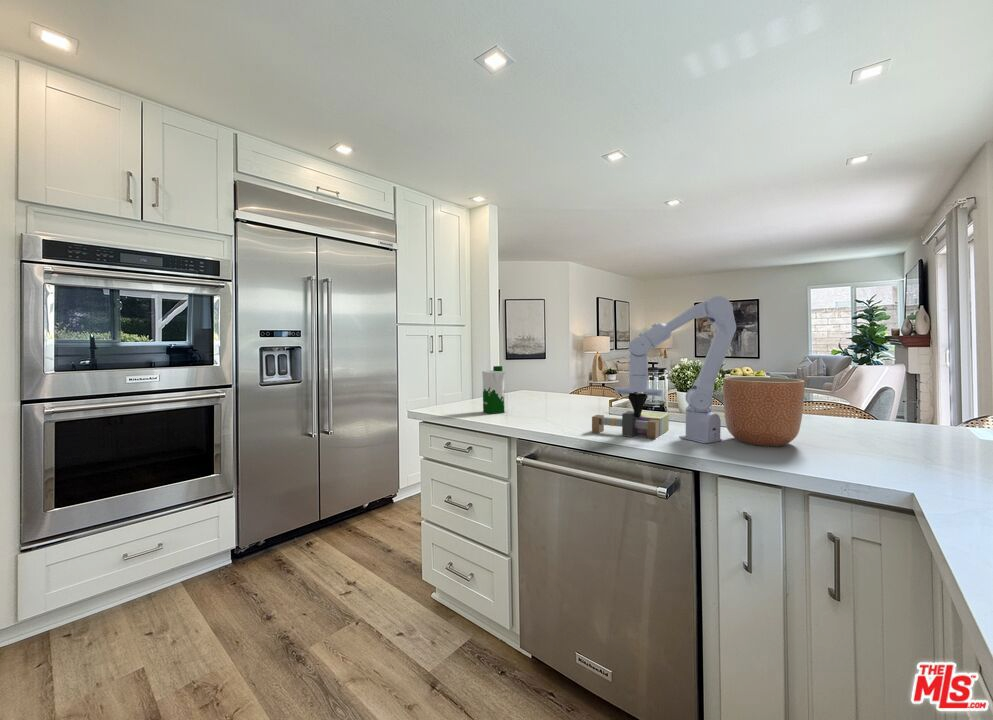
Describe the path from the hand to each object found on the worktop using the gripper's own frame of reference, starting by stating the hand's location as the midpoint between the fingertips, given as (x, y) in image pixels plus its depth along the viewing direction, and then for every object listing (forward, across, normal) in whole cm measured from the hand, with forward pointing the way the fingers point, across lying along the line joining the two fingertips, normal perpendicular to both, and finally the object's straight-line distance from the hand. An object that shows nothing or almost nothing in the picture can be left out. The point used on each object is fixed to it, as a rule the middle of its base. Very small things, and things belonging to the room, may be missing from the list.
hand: (637, 417), depth 140 cm
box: (+3, -2, -16) cm, 16 cm away
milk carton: (+6, +66, -17) cm, 68 cm away
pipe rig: (+6, +4, 0) cm, 7 cm away
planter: (+6, -34, -10) cm, 36 cm away
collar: (+6, +2, 0) cm, 6 cm away
